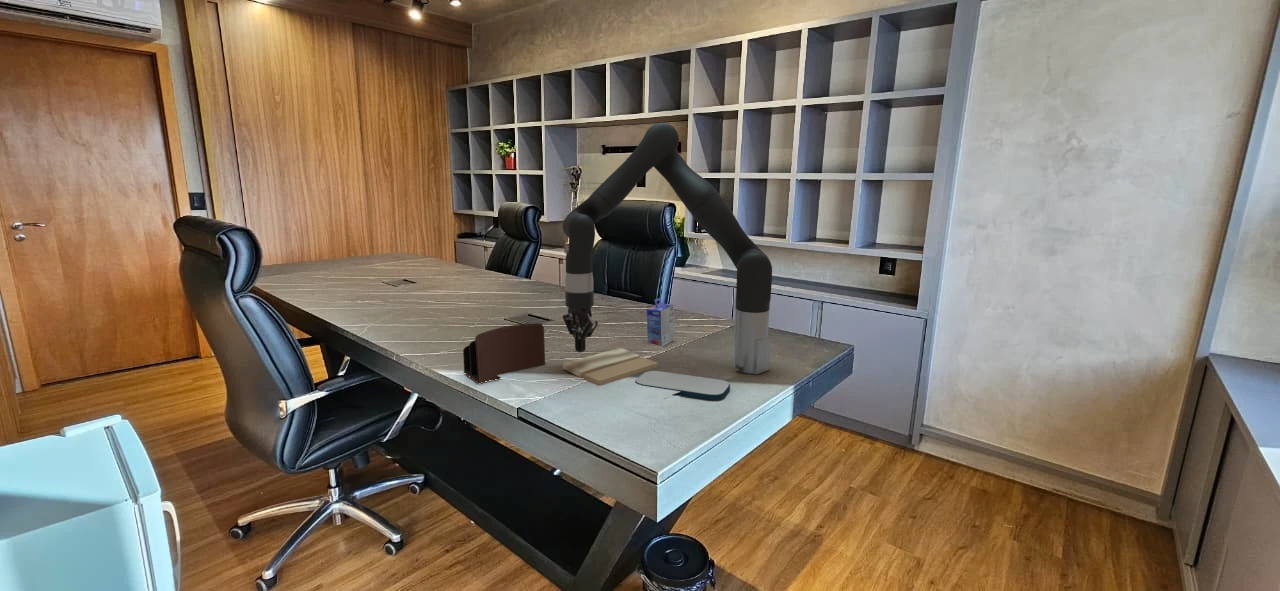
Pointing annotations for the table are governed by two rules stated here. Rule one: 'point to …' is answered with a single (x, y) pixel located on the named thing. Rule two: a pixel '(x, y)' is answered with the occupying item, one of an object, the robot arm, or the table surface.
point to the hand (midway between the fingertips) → (580, 351)
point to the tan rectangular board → (620, 371)
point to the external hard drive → (686, 385)
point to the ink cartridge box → (660, 323)
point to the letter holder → (504, 351)
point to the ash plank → (599, 361)
